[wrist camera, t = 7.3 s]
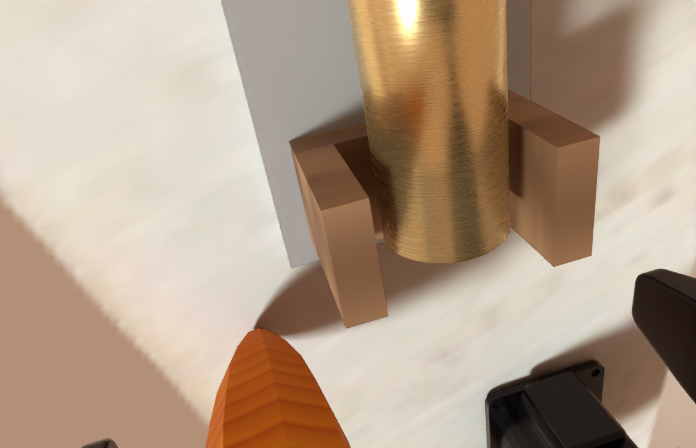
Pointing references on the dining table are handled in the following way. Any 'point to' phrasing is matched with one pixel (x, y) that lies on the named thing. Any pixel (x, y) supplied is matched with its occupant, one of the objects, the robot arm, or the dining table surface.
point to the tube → (436, 122)
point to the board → (318, 86)
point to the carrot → (271, 400)
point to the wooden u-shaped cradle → (524, 192)
